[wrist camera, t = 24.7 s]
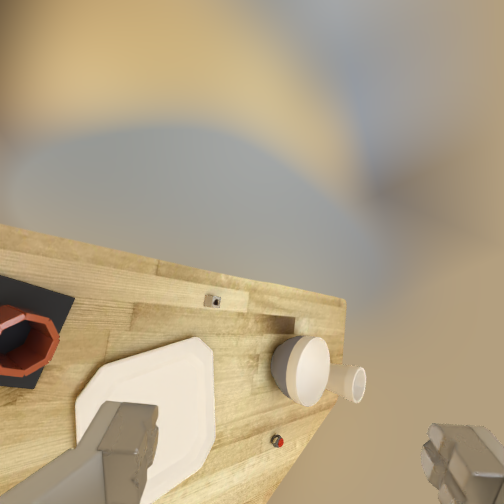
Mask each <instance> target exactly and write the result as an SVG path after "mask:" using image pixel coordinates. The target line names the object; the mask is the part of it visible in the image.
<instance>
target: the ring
mask: <svg viewBox="0 0 504 504" xmlns="http://www.w3.org/2000/svg"><path fill="white" fill-rule="evenodd" d="M276 437H278V439H277V440H276V442H275V443H274V444H273V443H272V444H273V446H274V447H277V448H278V447H281V446H282V445H283V443H284V441H283V438H281V436H280V435H275V436H274V437H273V438H272V440H271V442H272V441H273V439H274V438H276Z"/></svg>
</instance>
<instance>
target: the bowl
mask: <svg viewBox="0 0 504 504" xmlns="http://www.w3.org/2000/svg"><path fill="white" fill-rule="evenodd" d="M329 370H330V355H329V349H328V346H327V344H326V342H325V341H324V340H323V339H322V338H320V337H315V336H296V337H293V338H291V339H288V340H286V341H285V342H284V343H283V344H281V345H279V346H278V347H277V348H276V350H275V352H274V354H273V356H272V360H271V373H272V376H273V378H274V379H275V382H276V385H277V386H278V387H279V389H280V390H281V391H282V392H283V394H284V395H286V396H287V397H288V398H290V399H292V400H293V401H294V402H296V403H299V404H301V405H303V406H306V407H309V406H313V405H314V404H315V403H317V402H318V400H319V399H320V398H321V396H322V394H323V392H324V390H325V387H326V384H327V381H328V377H329Z"/></svg>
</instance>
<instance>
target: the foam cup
mask: <svg viewBox="0 0 504 504" xmlns="http://www.w3.org/2000/svg"><path fill="white" fill-rule="evenodd" d="M365 386H366V374H365V371H364V369H363V368H362V367H359V366H355V365H352V366H351V365H341V364H332V363H330V370H329V377H328V381H327V384H326V387H325V389H327V390H329V391H331V392H333V393H335V394H337V395H339V396H342V397H344V398H346V400H348V401H351V402H355V403H358V402H360V401H361V399H362V397H363V395H364V391H365Z"/></svg>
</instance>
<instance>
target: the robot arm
mask: <svg viewBox="0 0 504 504" xmlns="http://www.w3.org/2000/svg"><path fill="white" fill-rule="evenodd" d="M158 416H159V415H158V406H157V405H152V404H141V403H131V402H115V401H105V402H104V403H103V404H102V405H101V406H100V408H99V410H98V411H97V413H96V415H95V416H94V418H93V420H92V421H91V423H90V425H89V426H88V428H87V430H86V431H85V433H84V435H83V436H82V438H81V440H80V441H79V443H78V445H77V446H76V448H75V449H68V450H67V451H65V452H64V453H62V454H61V455H60V456H58V457H57V458H55V459H54V460H52V461H51V462H49V463H48V464H46V465H45V466H44V467H42V468H41V469H39V470H38V471H36V472H35V473H33V474H32V475H30V476H29V477H27V478H26V479H25V480H23V481H22V482H20V483H19V484H17V485H16V486H14V487H13V488H11V489H10V490H8V491H7V492H6V493H4V494H3V495H1V496H0V504H140V501H141V498H142V495H143V492H144V489H145V486H146V483H147V469H148V468H149V467H150V466H151V465H152V464H153V460H154V457H155V454H156V449H157V444H158V434H159V428H158V427H157V425H156V421H157V418H158ZM427 435H428V437H429V438H430V440H429V441H428V442H426V443H425V444H424V445H423V448H422V451H421V462H422V467H423V470H424V473H425V475H426V477H427V479H428V481H429V482H430V483H431V484H432V485H433V486H434V487H436V488H437V489H438V490H439V493H438V499H439V501H440V503H441V504H504V446H503V445H502V444H501V443H500V442H499V441H498V440H497V438H496V437H495V436H494V435H493V434H492V433H491V431H490V430H488V429H487V428H486V427H484V426H472V425H466V426H464V425H453V424H435V423H433V424H432V425H430V426H429V428H428V432H427Z"/></svg>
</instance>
